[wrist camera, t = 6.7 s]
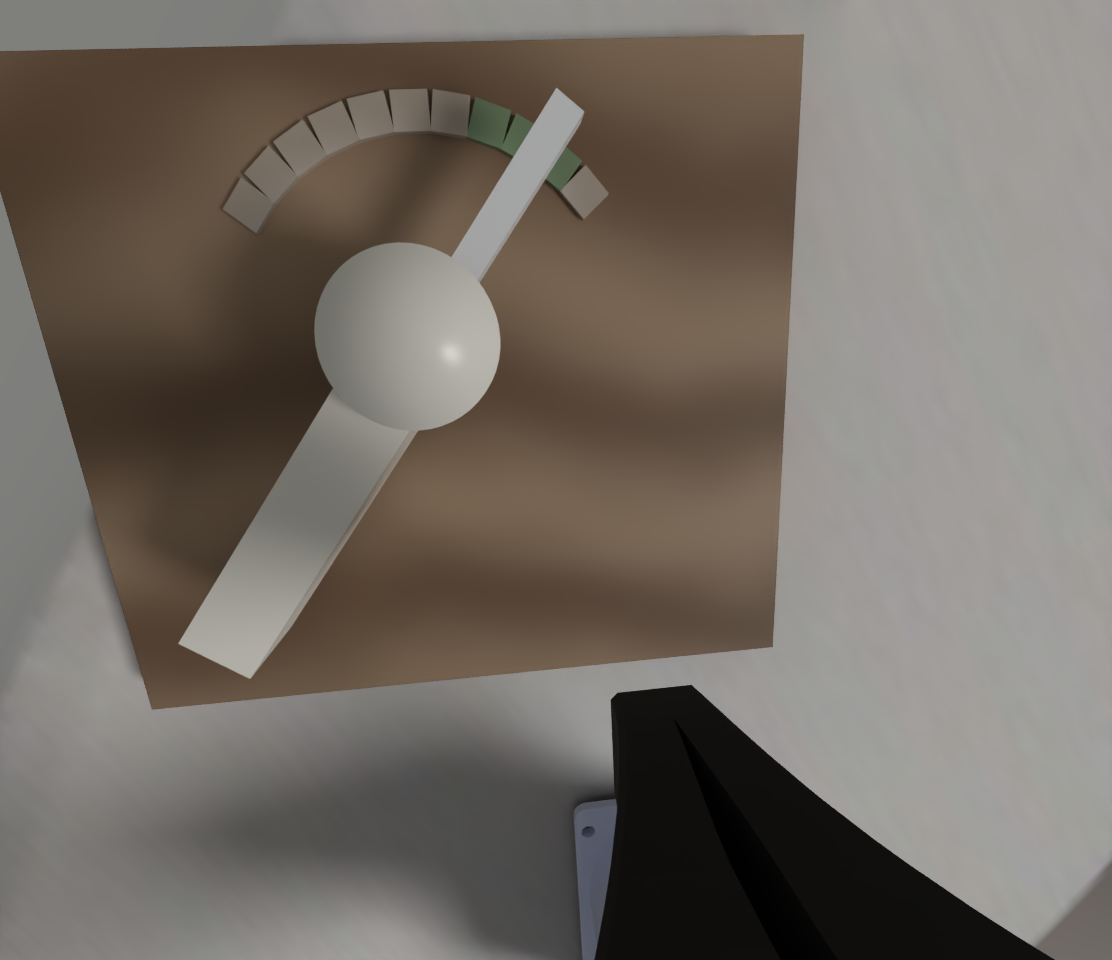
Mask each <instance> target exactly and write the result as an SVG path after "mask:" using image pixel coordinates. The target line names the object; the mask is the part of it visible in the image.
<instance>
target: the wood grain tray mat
mask: <svg viewBox="0 0 1112 960" xmlns="http://www.w3.org/2000/svg"><path fill="white" fill-rule="evenodd" d="M803 43H804V34H802V35H755V36H707V37H660V38H613V39H565V40H518V41H470V42H423V43H375V44H328V45H280V46H233V47H189V48H139V49H90V50H43V51H0V192H1V195H2V199H3V202H4V205H5V208H6V212H7V216H8V219H9V222H10V226H11V229H12V233H13V236H14V239H15V243H16V246H17V250H18V253H19V256H20V260H21V263H22V267H23V270H24V274H25V277H26V280H27V284H28V287H29V291H30V294H31V298H32V301H33V304H34V308H35V311H36V314H37V318H38V322H39V325H40V328H41V331H42V335H43V339H44V342H45V345H46V349H47V352H48V356H49V359H50V362H51V366H52V369H53V373H54V376H55V380H56V383H57V386H58V390H59V393H60V397H61V400H62V403H63V407H64V410H65V414H66V417H67V421H68V424H69V427H70V431H71V434H72V438H73V441H74V445H75V448H76V451H77V454H78V458H79V462H80V465H81V468H82V472H83V475H84V479H85V482H86V486H87V489H88V492H89V496H90V499H91V503H92V506H93V509H94V513H95V516H96V520H97V523H98V527H99V530H100V533H101V537H102V540H103V544H104V547H105V550H106V554H107V557H108V561H109V564H110V568H111V571H112V574H113V578H114V581H115V585H116V588H117V592H118V595H119V598H120V602H121V605H122V609H123V612H124V615H125V619H126V622H127V626H128V629H129V633H130V636H131V639H132V643H133V646H134V650H135V653H136V656H137V660H138V663H139V667H140V670H141V674H142V677H143V680H144V684H145V687H146V691H147V694H148V697H149V701H150V704H151V708H152V709H162V708H172V707H181V706H191V705H201V704H211V703H221V702H231V701H241V700H251V699H261V698H271V697H281V696H291V695H300V694H310V693H320V692H330V691H340V690H350V689H360V688H370V687H380V686H390V685H400V684H410V683H419V682H429V681H439V680H449V679H459V678H469V677H479V676H489V675H499V674H509V673H519V672H529V671H538V670H548V669H558V668H568V667H578V666H588V665H598V664H608V663H618V662H628V661H638V660H648V659H657V658H667V657H677V656H687V655H697V654H707V653H717V652H727V651H737V650H747V649H757V648H767V647H773V628H774V609H775V589H776V570H777V550H778V531H779V511H780V492H781V472H782V453H783V433H784V414H785V394H786V375H787V355H788V336H789V316H790V297H791V277H792V258H793V238H794V219H795V199H796V180H797V160H798V141H799V121H800V101H801V82H802V62H803ZM556 88H557V89H559V90H560V91H561V92H562V93H563V94H564V95H566V96H567V97H568V98H569V99H570V100H572V101H573V102H574V103H575V104H576V105H577V106H579V107H580V108H581V109H582V110H583V111H584V114H583V118H582V121H581V124H580V126H579V127H578V129H577V130H576V132H575V133H574V135H573V137H572V138H571V140H570V141H569V143H568V144H567V146H566V148H565V149H564V151H563V152H562V154H561V155H560V157H559V159H558V160H557V162H556V163H555V165H554V166H553V168H552V170H551V171H550V173H549V174H548V176H547V178H546V179H545V181H544V182H543V184H542V185H541V187H540V189H539V190H538V192H537V193H536V195H535V196H534V198H533V200H532V201H531V203H530V204H529V206H528V207H527V209H526V211H525V212H524V214H523V215H522V217H521V218H520V220H519V222H518V223H517V225H516V226H515V228H514V229H513V231H512V233H511V234H510V236H509V237H508V239H507V241H506V242H505V244H504V245H503V247H502V248H501V250H500V252H499V253H498V255H497V256H496V258H495V259H494V261H493V263H492V264H491V266H490V267H489V269H488V270H487V272H486V274H485V275H484V277H483V278H482V280H481V281H480V284H481V286H482V287H483V289H484V290H485V292H486V294H487V296H488V297H489V299H490V301H491V303H492V306H493V308H494V311H495V313H496V316H497V320H498V324H499V329H500V337H501V350H500V358H499V363H498V367H497V370H496V373H495V375H494V378H493V380H492V382H491V384H490V386H489V387H488V389H487V391H486V392H485V394H484V395H483V396H482V398H481V399H480V400H479V402H478V403H477V404H476V405H475V406H474V407H473V408H472V409H471V410H469V411H468V412H467V413H466V414H464V415H463V416H462V417H460V418H458V419H456V420H455V421H453V422H451V423H448V424H446V425H443V426H441V427H437V428H433V429H428V430H419V431H418V432H417V433H416V435H415V436H414V438H413V439H412V441H411V443H410V444H409V446H408V447H407V449H406V450H405V452H404V453H403V455H402V456H401V458H400V460H399V461H398V463H397V464H396V466H395V467H394V469H393V470H392V472H391V473H390V475H389V477H388V478H387V480H386V481H385V483H384V484H383V486H382V487H381V489H380V491H379V492H378V494H377V495H376V497H375V498H374V500H373V501H372V503H371V504H370V506H369V508H368V509H367V511H366V512H365V514H364V515H363V517H362V518H361V520H360V521H359V523H358V525H357V526H356V528H355V529H354V531H353V532H352V534H351V535H350V537H349V538H348V540H347V542H346V543H345V545H344V546H343V548H342V549H341V551H340V552H339V554H338V555H337V557H336V559H335V560H334V562H333V563H332V565H331V566H330V568H329V569H328V571H327V573H326V574H325V576H324V577H323V579H322V580H321V582H320V583H319V585H318V586H317V588H316V590H315V591H314V593H313V594H312V596H311V597H310V599H309V600H308V602H307V603H306V605H305V607H304V608H303V610H302V611H301V613H300V614H299V616H298V617H297V619H296V620H295V622H294V624H293V625H292V627H291V628H290V629H289V631H288V632H287V633H286V634H285V636H284V637H283V638H282V639H281V641H280V642H279V643H278V645H277V646H276V647H275V648H274V650H273V651H272V652H271V653H270V655H269V656H268V657H267V658H266V660H265V661H264V662H263V663H262V665H261V666H260V667H259V669H258V670H257V671H256V672H255V674H254V675H253V676H252V677H251V679H249V678H247V677H245V676H243V675H241V674H239V673H237V672H235V671H233V670H231V669H229V668H227V667H224V666H222V665H220V664H218V663H216V662H214V661H212V660H210V659H208V658H206V657H204V656H202V655H200V654H198V653H196V652H194V651H192V650H190V649H188V648H186V647H184V646H182V645H180V644H178V643H179V641H180V640H181V638H182V636H183V635H184V633H185V631H186V630H187V628H188V627H189V625H190V623H191V622H192V620H193V618H194V617H195V615H196V613H197V612H198V610H199V608H200V607H201V605H202V603H203V602H204V600H205V599H206V597H207V595H208V594H209V592H210V590H211V589H212V587H213V585H214V584H215V582H216V580H217V579H218V577H219V575H220V574H221V572H222V570H223V569H224V567H225V566H226V564H227V562H228V561H229V559H230V557H231V556H232V554H233V552H234V551H235V549H236V547H237V546H238V544H239V542H240V541H241V539H242V537H243V536H244V534H245V533H246V531H247V529H248V528H249V526H250V524H251V523H252V521H253V519H254V518H255V516H256V514H257V513H258V511H259V509H260V508H261V506H262V504H263V503H264V501H265V500H266V498H267V496H268V495H269V493H270V491H271V490H272V488H273V486H274V485H275V483H276V481H277V480H278V478H279V476H280V475H281V473H282V472H283V470H284V468H285V467H286V465H287V463H288V462H289V460H290V458H291V457H292V455H293V453H294V452H295V450H296V448H297V447H298V445H299V443H300V442H301V440H302V439H303V437H304V435H305V434H306V432H307V430H308V429H309V427H310V425H311V424H312V422H313V420H314V419H315V417H316V415H317V414H318V412H319V410H320V409H321V407H322V406H323V404H324V402H325V401H326V399H327V397H328V396H329V394H330V392H331V391H332V389H333V387H332V385H331V384H330V382H329V381H328V379H327V377H326V375H325V373H324V371H323V369H322V367H321V364H320V361H319V358H318V354H317V350H316V345H315V335H314V326H315V316H316V310H317V306H318V303H319V300H320V297H321V294H322V292H323V290H324V288H325V286H326V284H327V283H328V281H329V280H330V278H331V277H332V275H333V274H334V273H335V272H336V271H337V270H338V269H339V268H340V266H341V265H343V264H344V263H345V262H346V261H348V260H349V259H350V258H351V257H353V256H355V255H356V254H358V253H360V252H361V251H364V250H366V249H369V248H371V247H374V246H378V245H382V244H387V243H397V242H401V243H414V244H420V245H424V246H428V247H431V248H434V249H436V250H439V251H441V252H443V253H445V254H447V255H449V256H450V257H452V256H453V254H454V252H455V251H456V249H457V247H458V246H459V244H460V243H461V241H462V239H463V238H464V236H465V235H466V233H467V231H468V230H469V228H470V226H471V225H472V223H473V222H474V220H475V218H476V217H477V215H478V214H479V212H480V210H481V209H482V207H483V205H484V204H485V202H486V201H487V199H488V197H489V196H490V194H491V193H492V191H493V189H494V188H495V186H496V184H497V183H498V181H499V180H500V178H501V176H502V175H503V173H504V172H505V170H506V168H507V167H508V165H509V164H510V162H511V160H512V159H513V157H514V155H515V154H516V152H517V151H518V149H519V147H520V146H521V144H522V143H523V141H524V139H525V138H526V136H527V134H528V133H529V131H530V130H531V128H532V126H533V125H534V123H535V122H536V120H537V118H538V117H539V115H540V113H541V112H542V110H543V109H544V107H545V105H546V104H547V102H548V101H549V99H550V97H551V96H552V94H553V92H554V91H555V89H556Z"/></svg>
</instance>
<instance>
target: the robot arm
mask: <svg viewBox="0 0 1112 960" xmlns="http://www.w3.org/2000/svg"><path fill="white" fill-rule="evenodd" d="M611 717H612V741H613V765H614V789H615V797H616V799H611V800H602V801H594V802H586V803H582V804H580V805H579V806H577V807H576V809H575V810H574V831H575V848H576V864H577V880H578V896H579V913H580V929H581V945H582V960H1054V959H1053V958H1051V957H1049V956H1048V955H1046V954H1044V953H1043V952H1041V951H1040V950H1038V949H1036V948H1035V947H1033V946H1031V945H1030V944H1028V943H1026V942H1025V941H1023V940H1022V939H1020V938H1018V937H1017V936H1015V935H1014V934H1012V933H1011V932H1009V931H1007V930H1006V929H1004V928H1003V927H1001V926H1000V925H998V924H997V923H995V922H993V921H992V920H990V919H989V918H987V917H986V916H984V915H983V914H981V913H979V912H978V911H976V910H975V909H973V908H972V907H970V906H969V905H967V904H966V903H965V902H963V901H962V900H960V899H959V898H957V897H956V896H954V895H953V894H951V893H950V892H948V891H947V890H945V889H944V888H943V887H941V886H940V885H938V884H937V883H935V882H934V881H932V880H931V879H929V878H928V877H926V876H925V875H924V874H922V873H921V872H919V871H918V870H916V869H915V868H913V867H912V866H910V865H909V864H907V863H906V862H905V861H903V860H902V859H900V858H899V857H898V856H896V855H895V854H893V853H892V852H891V851H889V850H888V849H887V848H885V847H884V846H882V845H881V844H880V843H878V842H877V841H876V840H874V839H873V838H871V837H870V836H869V835H868V834H866V833H865V832H864V831H862V830H861V829H860V828H858V827H857V826H856V825H855V824H853V823H852V822H851V821H849V820H848V819H847V818H845V817H844V816H843V815H842V814H840V813H839V812H838V811H836V810H835V809H834V808H832V807H831V806H830V805H829V804H827V803H826V802H825V801H823V800H822V799H821V798H820V797H818V796H817V795H816V794H815V793H814V792H812V791H811V790H810V789H809V788H807V787H806V786H805V785H804V784H803V783H802V782H800V781H799V780H798V779H797V778H796V777H794V776H793V775H792V774H791V773H790V772H789V771H787V770H786V769H785V768H784V767H783V766H781V765H780V764H779V763H778V762H777V761H776V760H774V759H773V758H772V757H771V756H770V755H768V754H767V753H766V752H765V751H764V750H763V749H762V748H761V747H759V746H758V745H757V744H756V743H755V742H754V741H753V740H751V739H750V738H749V737H748V736H747V735H746V734H745V733H744V732H743V731H741V730H740V729H739V728H738V727H737V726H736V725H735V724H734V723H733V722H732V721H730V720H729V719H728V718H727V717H726V716H725V715H724V714H723V713H722V712H721V711H720V710H718V709H717V708H716V707H715V706H714V705H713V704H712V703H711V702H710V701H709V700H707V699H706V698H705V697H704V696H703V695H702V694H701V693H700V692H699V691H697V690H696V689H695V688H694V687H693V686H692V685H687V686H678V687H668V688H659V689H649V690H640V691H631V692H621V693H617V694H616V695H615V696H614V697H613V698H612V699H611ZM587 826H591V827H589V828H584V827H587Z"/></svg>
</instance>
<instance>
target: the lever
mask: <svg viewBox="0 0 1112 960" xmlns="http://www.w3.org/2000/svg"><path fill="white" fill-rule="evenodd" d="M583 114H584V111H583V110H582V109H581V108H580V107H579V106H577V105H576V104H575V103H574V102H573V101H572V100H570V99H569V98H568V97H567V96H566V95H564V94H563V93H562V92H561V91H560V90H559V89H557V88H556V89H555V91H554V92H553V94H552V96H551V97H550V99H549V101H548V102H547V104H546V105H545V107H544V109H543V110H542V112H541V113H540V115H539V117H538V118H537V120H536V122H535V123H534V125H533V126H532V128H531V130H530V131H529V133H528V134H527V136H526V138H525V139H524V141H523V143H522V144H521V146H520V147H519V149H518V151H517V152H516V154H515V155H514V157H513V159H512V160H511V162H510V164H509V165H508V167H507V168H506V170H505V172H504V173H503V175H502V176H501V178H500V180H499V181H498V183H497V184H496V186H495V188H494V189H493V191H492V193H491V194H490V196H489V197H488V199H487V201H486V202H485V204H484V205H483V207H482V209H481V210H480V212H479V214H478V215H477V217H476V218H475V220H474V222H473V223H472V225H471V226H470V228H469V230H468V231H467V233H466V235H465V236H464V238H463V239H462V241H461V243H460V244H459V246H458V247H457V249H456V251H455V252H454V254H453V256H452V257H450V256H449V255H447V254H445V253H443V252H441V251H439V250H436V249H434V248H431V247H428V246H424V245H420V244H414V243H401V242H397V243H387V244H382V245H378V246H374V247H371V248H369V249H366V250H364V251H361V252H360V253H358V254H356V255H355V256H353V257H351V258H350V259H349V260H348V261H346V262H345V263H344V264H343V265H341V266H340V268H339V269H338V270H337V271H336V272H335V273H334V274H333V275H332V277H331V278H330V280H329V281H328V283H327V284H326V286H325V288H324V290H323V292H322V294H321V297H320V300H319V303H318V306H317V310H316V316H315V326H314V335H315V345H316V350H317V354H318V358H319V361H320V364H321V367H322V369H323V371H324V373H325V375H326V377H327V379H328V381H329V382H330V384H331V385H332V387H333V389H332V391H331V392H330V394H329V396H328V397H327V399H326V401H325V402H324V404H323V406H322V407H321V409H320V410H319V412H318V414H317V415H316V417H315V419H314V420H313V422H312V424H311V425H310V427H309V429H308V430H307V432H306V434H305V435H304V437H303V439H302V440H301V442H300V443H299V445H298V447H297V448H296V450H295V452H294V453H293V455H292V457H291V458H290V460H289V462H288V463H287V465H286V467H285V468H284V470H283V472H282V473H281V475H280V476H279V478H278V480H277V481H276V483H275V485H274V486H273V488H272V490H271V491H270V493H269V495H268V496H267V498H266V500H265V501H264V503H263V504H262V506H261V508H260V509H259V511H258V513H257V514H256V516H255V518H254V519H253V521H252V523H251V524H250V526H249V528H248V529H247V531H246V533H245V534H244V536H243V537H242V539H241V541H240V542H239V544H238V546H237V547H236V549H235V551H234V552H233V554H232V556H231V557H230V559H229V561H228V562H227V564H226V566H225V567H224V569H223V570H222V572H221V574H220V575H219V577H218V579H217V580H216V582H215V584H214V585H213V587H212V589H211V590H210V592H209V594H208V595H207V597H206V599H205V600H204V602H203V603H202V605H201V607H200V608H199V610H198V612H197V613H196V615H195V617H194V618H193V620H192V622H191V623H190V625H189V627H188V628H187V630H186V631H185V633H184V635H183V636H182V638H181V640H180V641H179V643H178V644H180V645H182V646H184V647H186V648H188V649H190V650H192V651H194V652H196V653H198V654H200V655H202V656H204V657H206V658H208V659H210V660H212V661H214V662H216V663H218V664H220V665H222V666H224V667H227V668H229V669H231V670H233V671H235V672H237V673H239V674H241V675H243V676H245V677H247V678H249V679H251V677H252V676H253V675H254V674H255V672H256V671H257V670H258V669H259V667H260V666H261V665H262V663H263V662H264V661H265V660H266V658H267V657H268V656H269V655H270V653H271V652H272V651H273V650H274V648H275V647H276V646H277V645H278V643H279V642H280V641H281V639H282V638H283V637H284V636H285V634H286V633H287V632H288V631H289V629H290V628H291V627H292V625H293V624H294V622H295V620H296V619H297V617H298V616H299V614H300V613H301V611H302V610H303V608H304V607H305V605H306V603H307V602H308V600H309V599H310V597H311V596H312V594H313V593H314V591H315V590H316V588H317V586H318V585H319V583H320V582H321V580H322V579H323V577H324V576H325V574H326V573H327V571H328V569H329V568H330V566H331V565H332V563H333V562H334V560H335V559H336V557H337V555H338V554H339V552H340V551H341V549H342V548H343V546H344V545H345V543H346V542H347V540H348V538H349V537H350V535H351V534H352V532H353V531H354V529H355V528H356V526H357V525H358V523H359V521H360V520H361V518H362V517H363V515H364V514H365V512H366V511H367V509H368V508H369V506H370V504H371V503H372V501H373V500H374V498H375V497H376V495H377V494H378V492H379V491H380V489H381V487H382V486H383V484H384V483H385V481H386V480H387V478H388V477H389V475H390V473H391V472H392V470H393V469H394V467H395V466H396V464H397V463H398V461H399V460H400V458H401V456H402V455H403V453H404V452H405V450H406V449H407V447H408V446H409V444H410V443H411V441H412V439H413V438H414V436H415V435H416V433H417V432H418V431H419V430H428V429H433V428H437V427H441V426H443V425H446V424H448V423H451V422H453V421H455V420H456V419H458V418H460V417H462V416H463V415H464V414H466V413H467V412H468V411H469V410H471V409H472V408H473V407H474V406H475V405H476V404H477V403H478V402H479V400H480V399H481V398H482V396H483V395H484V394H485V392H486V391H487V389H488V387H489V386H490V384H491V382H492V380H493V378H494V375H495V373H496V370H497V367H498V363H499V358H500V350H501V337H500V329H499V324H498V320H497V316H496V313H495V311H494V308H493V306H492V303H491V301H490V299H489V297H488V296H487V294H486V292H485V290H484V289H483V287H482V286H481V284H480V281H481V280H482V278H483V277H484V275H485V274H486V272H487V270H488V269H489V267H490V266H491V264H492V263H493V261H494V259H495V258H496V256H497V255H498V253H499V252H500V250H501V248H502V247H503V245H504V244H505V242H506V241H507V239H508V237H509V236H510V234H511V233H512V231H513V229H514V228H515V226H516V225H517V223H518V222H519V220H520V218H521V217H522V215H523V214H524V212H525V211H526V209H527V207H528V206H529V204H530V203H531V201H532V200H533V198H534V196H535V195H536V193H537V192H538V190H539V189H540V187H541V185H542V184H543V182H544V181H545V179H546V178H547V176H548V174H549V173H550V171H551V170H552V168H553V166H554V165H555V163H556V162H557V160H558V159H559V157H560V155H561V154H562V152H563V151H564V149H565V148H566V146H567V144H568V143H569V141H570V140H571V138H572V137H573V135H574V133H575V132H576V130H577V129H578V127H579V126H580V124H581V121H582V118H583Z"/></svg>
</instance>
